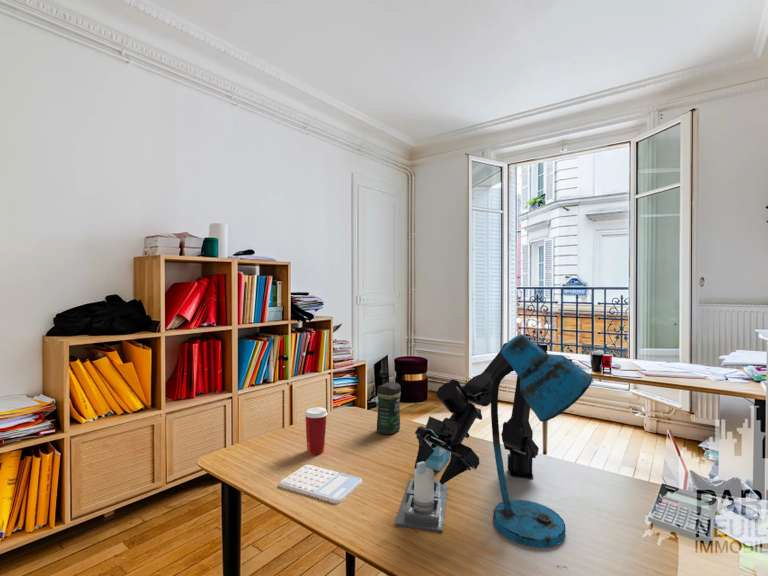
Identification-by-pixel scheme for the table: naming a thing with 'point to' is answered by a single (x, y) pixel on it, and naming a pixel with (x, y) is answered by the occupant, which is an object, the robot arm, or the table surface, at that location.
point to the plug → (423, 489)
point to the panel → (421, 519)
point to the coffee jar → (388, 408)
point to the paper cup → (315, 430)
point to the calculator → (321, 483)
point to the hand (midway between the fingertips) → (427, 475)
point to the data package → (437, 458)
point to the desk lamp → (547, 399)
